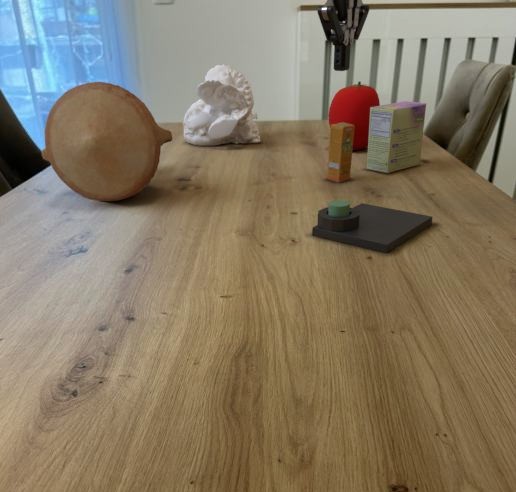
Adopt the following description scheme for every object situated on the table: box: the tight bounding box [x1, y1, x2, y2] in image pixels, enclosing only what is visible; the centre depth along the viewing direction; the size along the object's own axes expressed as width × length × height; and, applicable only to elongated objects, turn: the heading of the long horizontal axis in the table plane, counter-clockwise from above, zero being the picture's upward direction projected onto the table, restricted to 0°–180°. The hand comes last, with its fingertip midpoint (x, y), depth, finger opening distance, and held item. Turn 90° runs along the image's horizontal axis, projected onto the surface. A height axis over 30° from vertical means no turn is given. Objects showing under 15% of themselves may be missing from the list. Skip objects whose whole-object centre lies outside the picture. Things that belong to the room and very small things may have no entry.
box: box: [366, 101, 427, 174], centre depth 109 cm, size 10×6×12 cm, turn 130°
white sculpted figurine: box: [181, 63, 262, 147], centre depth 136 cm, size 19×20×20 cm
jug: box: [41, 81, 173, 202], centre depth 100 cm, size 20×19×30 cm
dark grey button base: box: [311, 202, 433, 254], centre depth 80 cm, size 14×12×3 cm
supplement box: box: [326, 122, 355, 183], centre depth 103 cm, size 3×3×10 cm
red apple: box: [328, 81, 381, 151], centre depth 124 cm, size 13×11×14 cm
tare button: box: [328, 199, 351, 217], centre depth 79 cm, size 3×3×2 cm
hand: (341, 70), depth 93 cm, fingers closed
